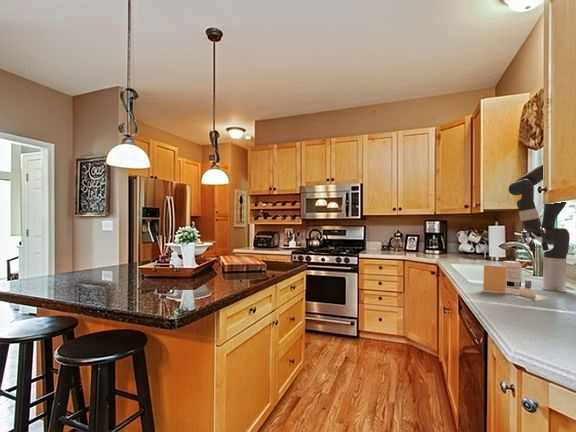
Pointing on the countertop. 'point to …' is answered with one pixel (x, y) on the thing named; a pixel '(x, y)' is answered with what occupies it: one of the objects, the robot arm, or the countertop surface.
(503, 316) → the countertop surface
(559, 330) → the countertop surface
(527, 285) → the base plate
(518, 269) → the supplement can
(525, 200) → the robot arm
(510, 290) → the wooden panel stand
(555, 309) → the countertop surface
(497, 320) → the countertop surface
